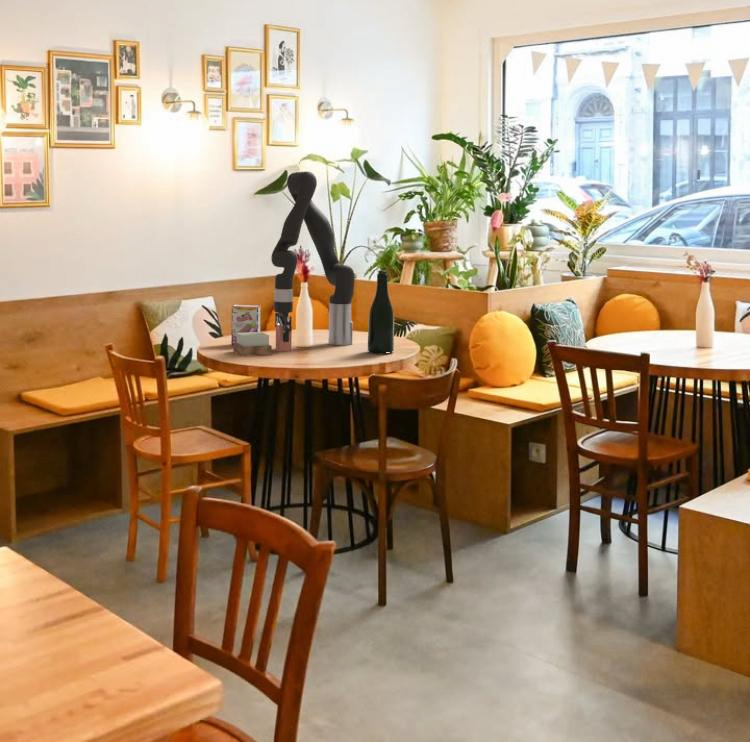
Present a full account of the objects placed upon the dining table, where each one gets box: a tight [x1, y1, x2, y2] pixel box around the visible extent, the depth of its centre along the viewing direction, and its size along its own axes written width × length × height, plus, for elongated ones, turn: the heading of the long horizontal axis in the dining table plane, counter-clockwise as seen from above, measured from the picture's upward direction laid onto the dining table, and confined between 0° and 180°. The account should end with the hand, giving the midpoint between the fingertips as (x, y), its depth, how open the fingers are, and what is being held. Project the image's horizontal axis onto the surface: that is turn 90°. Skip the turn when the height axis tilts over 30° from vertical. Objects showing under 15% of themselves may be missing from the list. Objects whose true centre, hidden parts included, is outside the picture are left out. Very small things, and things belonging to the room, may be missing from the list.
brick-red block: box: [275, 325, 293, 352], centre depth 431 cm, size 5×5×10 cm
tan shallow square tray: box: [232, 343, 273, 357], centre depth 422 cm, size 12×12×4 cm
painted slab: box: [237, 331, 270, 347], centre depth 422 cm, size 10×10×4 cm
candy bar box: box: [230, 304, 262, 346], centre depth 441 cm, size 11×5×16 cm, turn 84°
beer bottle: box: [367, 269, 395, 354], centre depth 429 cm, size 10×10×33 cm
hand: (282, 340), depth 431 cm, fingers open, 8 cm apart
